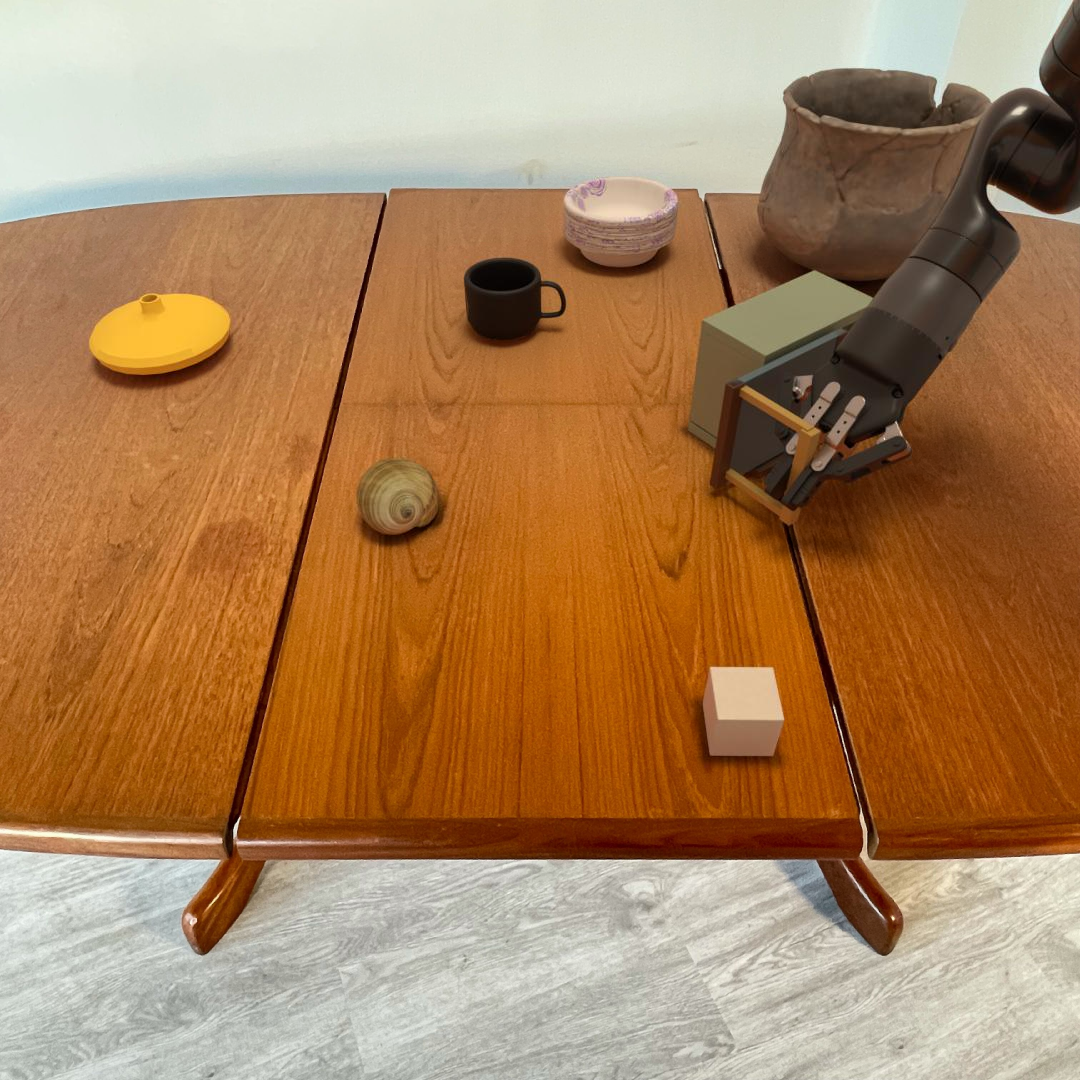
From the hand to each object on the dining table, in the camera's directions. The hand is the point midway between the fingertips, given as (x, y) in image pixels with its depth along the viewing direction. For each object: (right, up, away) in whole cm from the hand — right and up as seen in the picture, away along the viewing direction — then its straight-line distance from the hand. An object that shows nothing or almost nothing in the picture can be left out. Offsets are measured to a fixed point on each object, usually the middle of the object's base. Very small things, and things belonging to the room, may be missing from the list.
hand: (779, 501), depth 76 cm
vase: (-65, +19, +29) cm, 73 cm away
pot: (+20, +33, +42) cm, 58 cm away
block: (-6, -17, -10) cm, 21 cm away
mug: (-23, +22, +31) cm, 45 cm away
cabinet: (+4, +9, +17) cm, 20 cm away
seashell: (-34, -1, +8) cm, 35 cm away
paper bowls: (-10, +36, +46) cm, 59 cm away
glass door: (+4, +3, +9) cm, 10 cm away
